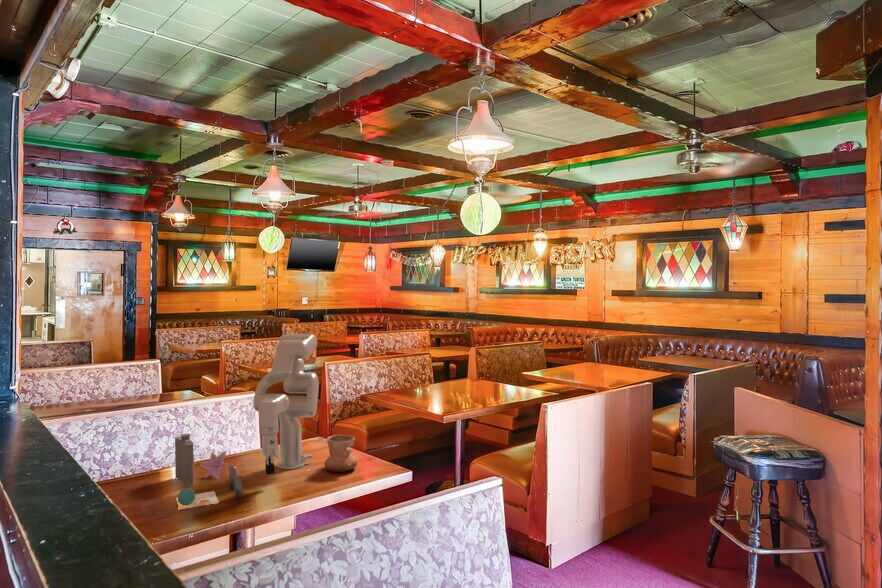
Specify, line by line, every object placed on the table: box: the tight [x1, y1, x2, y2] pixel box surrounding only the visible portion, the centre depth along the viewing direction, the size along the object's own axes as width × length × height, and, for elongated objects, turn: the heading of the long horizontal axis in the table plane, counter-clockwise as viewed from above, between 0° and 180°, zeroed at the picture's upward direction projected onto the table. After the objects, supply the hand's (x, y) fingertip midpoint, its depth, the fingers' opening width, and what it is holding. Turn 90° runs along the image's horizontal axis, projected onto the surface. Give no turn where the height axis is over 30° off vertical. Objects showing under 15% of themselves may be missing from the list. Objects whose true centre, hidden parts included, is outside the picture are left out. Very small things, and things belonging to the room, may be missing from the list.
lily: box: [199, 450, 230, 480], centre depth 246 cm, size 12×12×10 cm
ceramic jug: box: [324, 434, 358, 473], centre depth 253 cm, size 18×14×14 cm
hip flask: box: [174, 433, 195, 488], centre depth 237 cm, size 16×4×20 cm, turn 42°
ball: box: [177, 487, 196, 505], centre depth 213 cm, size 6×6×6 cm
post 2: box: [234, 474, 243, 502], centre depth 218 cm, size 3×3×9 cm
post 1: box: [228, 465, 237, 491], centre depth 229 cm, size 3×3×9 cm
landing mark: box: [193, 490, 220, 506], centre depth 217 cm, size 14×14×1 cm
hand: (270, 473), depth 231 cm, fingers closed
